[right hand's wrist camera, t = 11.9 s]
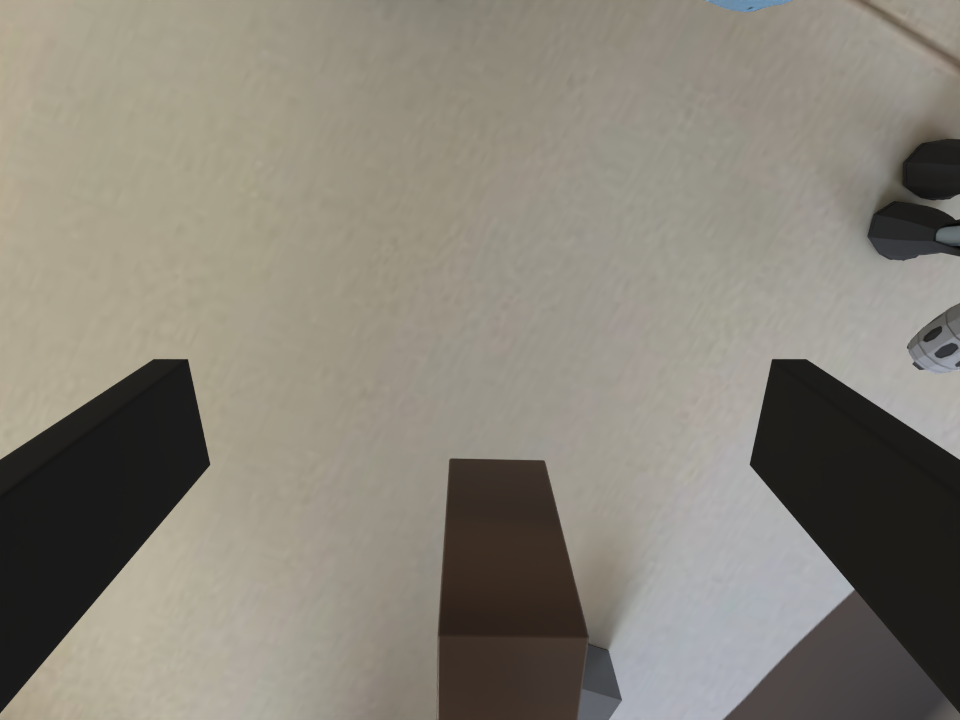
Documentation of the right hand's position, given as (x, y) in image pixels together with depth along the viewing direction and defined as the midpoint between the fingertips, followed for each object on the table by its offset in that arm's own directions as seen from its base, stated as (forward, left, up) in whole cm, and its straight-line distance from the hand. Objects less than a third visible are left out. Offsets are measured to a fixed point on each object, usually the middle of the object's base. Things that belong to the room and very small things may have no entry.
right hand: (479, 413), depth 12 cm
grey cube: (+26, +31, -27) cm, 48 cm away
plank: (+15, +12, -9) cm, 21 cm away
